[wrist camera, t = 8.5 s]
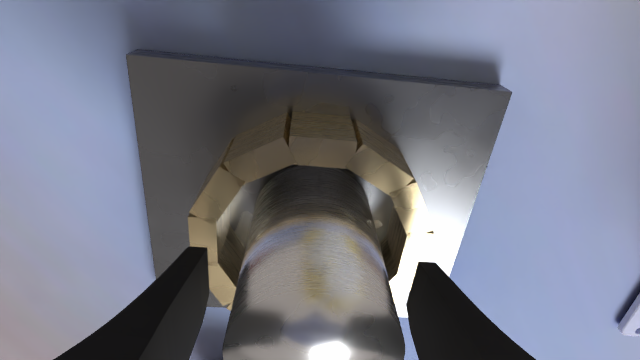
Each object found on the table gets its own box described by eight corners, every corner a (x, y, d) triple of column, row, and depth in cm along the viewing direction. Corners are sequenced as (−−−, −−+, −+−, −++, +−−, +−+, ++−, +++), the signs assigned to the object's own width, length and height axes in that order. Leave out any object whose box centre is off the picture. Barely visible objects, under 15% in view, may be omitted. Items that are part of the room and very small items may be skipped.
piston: (378, 168, 16) (423, 294, 10) (360, 263, 18) (387, 413, 12) (255, 159, 15) (219, 283, 9) (254, 257, 18) (224, 408, 12)
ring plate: (500, 85, 15) (549, 113, 12) (429, 304, 21) (449, 361, 18) (137, 49, 14) (89, 70, 11) (166, 289, 20) (139, 347, 17)
